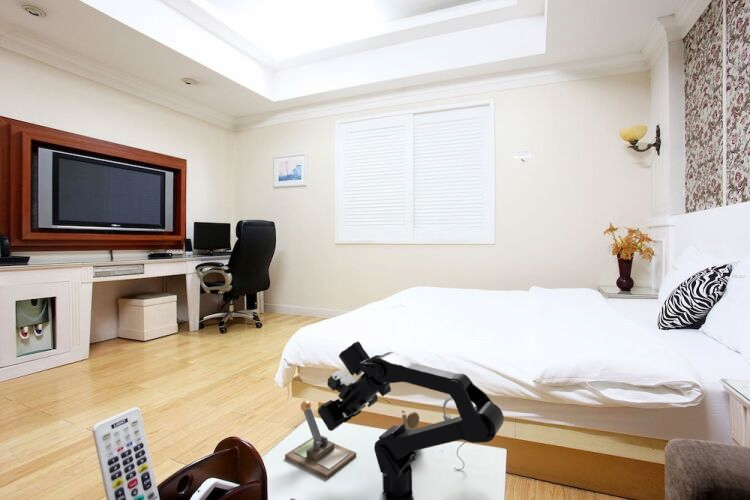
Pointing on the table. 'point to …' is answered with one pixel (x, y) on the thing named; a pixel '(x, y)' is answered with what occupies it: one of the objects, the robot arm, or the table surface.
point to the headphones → (451, 418)
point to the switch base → (315, 466)
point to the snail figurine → (410, 420)
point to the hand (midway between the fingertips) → (333, 420)
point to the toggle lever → (311, 421)
